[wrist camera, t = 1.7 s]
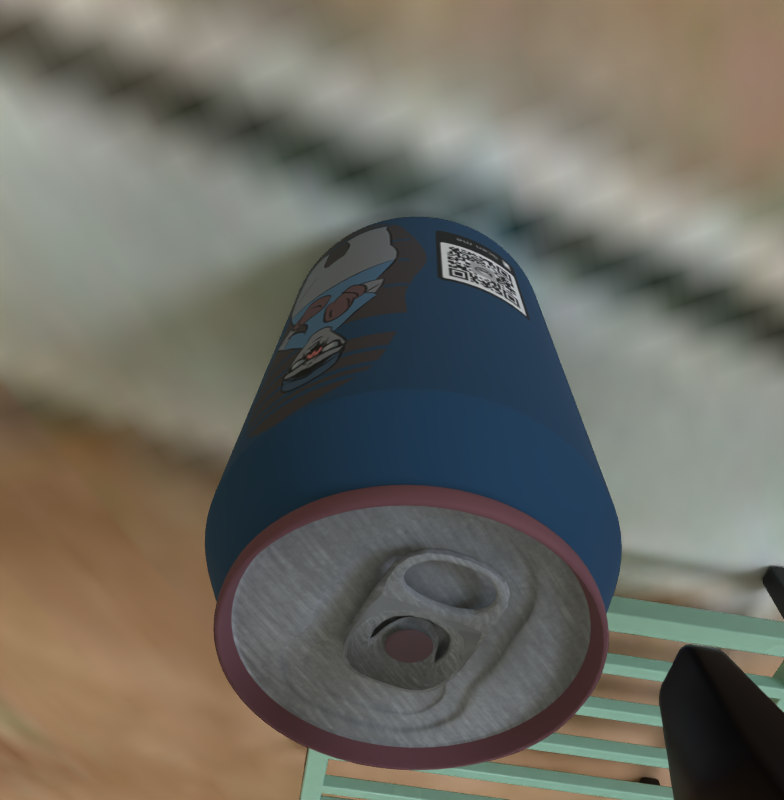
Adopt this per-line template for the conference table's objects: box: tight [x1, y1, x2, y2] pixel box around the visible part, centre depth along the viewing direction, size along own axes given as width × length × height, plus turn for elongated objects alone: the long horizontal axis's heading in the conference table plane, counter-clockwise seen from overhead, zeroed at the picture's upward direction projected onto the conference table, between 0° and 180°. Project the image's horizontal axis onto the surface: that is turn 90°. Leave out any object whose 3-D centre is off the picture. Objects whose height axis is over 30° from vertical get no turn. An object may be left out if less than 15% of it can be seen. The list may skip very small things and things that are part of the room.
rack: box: [299, 567, 784, 800], centre depth 26 cm, size 16×14×4 cm
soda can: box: [205, 217, 622, 770], centre depth 15 cm, size 7×7×12 cm
